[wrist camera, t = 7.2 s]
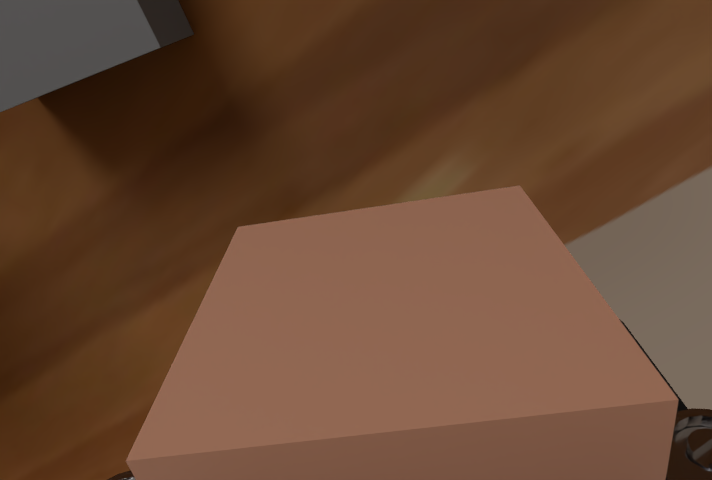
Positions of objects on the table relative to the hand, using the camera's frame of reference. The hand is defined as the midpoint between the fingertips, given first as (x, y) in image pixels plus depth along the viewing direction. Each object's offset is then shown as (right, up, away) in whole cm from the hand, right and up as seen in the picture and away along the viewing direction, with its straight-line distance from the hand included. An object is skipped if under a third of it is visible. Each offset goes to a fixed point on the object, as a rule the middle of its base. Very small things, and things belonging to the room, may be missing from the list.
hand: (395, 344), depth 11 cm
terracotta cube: (0, 0, +1) cm, 1 cm away
